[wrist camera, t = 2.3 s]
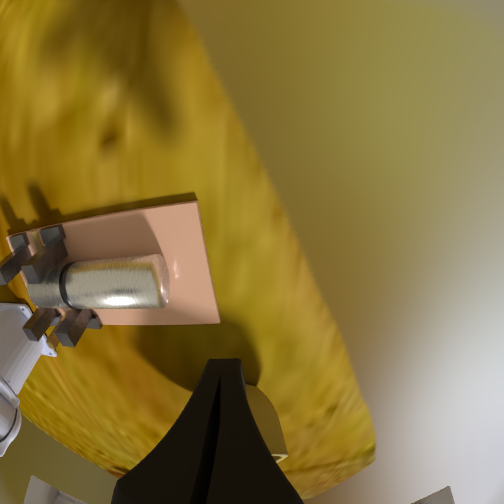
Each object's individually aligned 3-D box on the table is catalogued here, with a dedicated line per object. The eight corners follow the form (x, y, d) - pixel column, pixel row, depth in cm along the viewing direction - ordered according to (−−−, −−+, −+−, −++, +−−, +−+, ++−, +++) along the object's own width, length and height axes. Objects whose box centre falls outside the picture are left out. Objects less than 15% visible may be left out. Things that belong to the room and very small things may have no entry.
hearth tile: (46, 317, 23) (44, 320, 22) (9, 235, 18) (6, 237, 18) (220, 319, 22) (220, 323, 21) (198, 200, 17) (196, 202, 17)
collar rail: (51, 321, 22) (32, 349, 18) (12, 235, 17) (-17, 257, 14) (102, 324, 22) (84, 358, 18) (61, 223, 17) (28, 249, 13)
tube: (57, 300, 20) (34, 314, 16) (49, 261, 19) (23, 271, 16) (173, 297, 19) (156, 317, 16) (165, 249, 19) (145, 260, 15)
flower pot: (283, 379, 26) (291, 456, 18) (249, 414, 30) (250, 478, 22) (201, 358, 24) (189, 442, 16) (181, 398, 28) (170, 464, 20)
